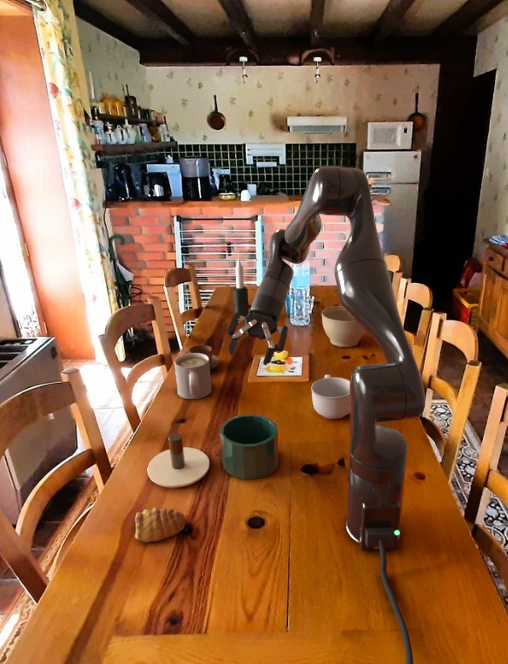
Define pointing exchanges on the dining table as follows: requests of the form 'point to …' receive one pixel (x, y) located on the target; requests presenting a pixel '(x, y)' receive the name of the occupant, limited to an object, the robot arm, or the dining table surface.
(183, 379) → the coffee mug
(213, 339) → the dining table surface
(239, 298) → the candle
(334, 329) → the planter bowl
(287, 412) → the dining table surface
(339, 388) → the teacup
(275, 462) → the green pot
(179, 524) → the pastry
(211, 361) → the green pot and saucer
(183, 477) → the lid
